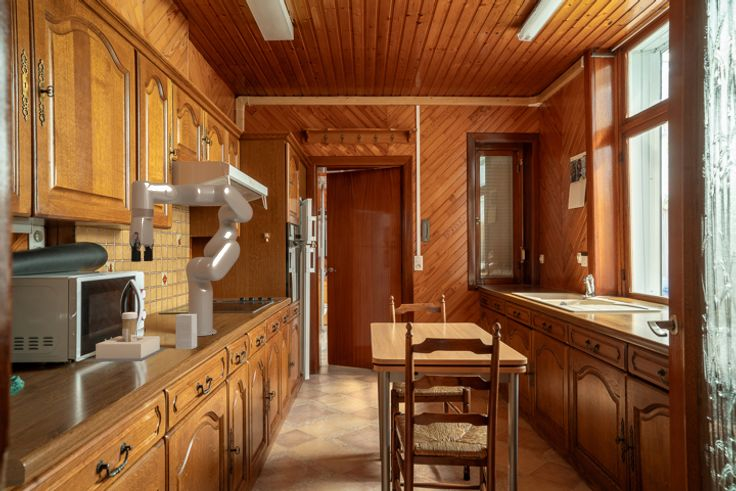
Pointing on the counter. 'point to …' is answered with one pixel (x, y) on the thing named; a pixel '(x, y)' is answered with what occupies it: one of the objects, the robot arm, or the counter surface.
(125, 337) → the sprinkles bottle
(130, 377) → the counter surface
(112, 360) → the slate mat
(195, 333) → the skincare box
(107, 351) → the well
